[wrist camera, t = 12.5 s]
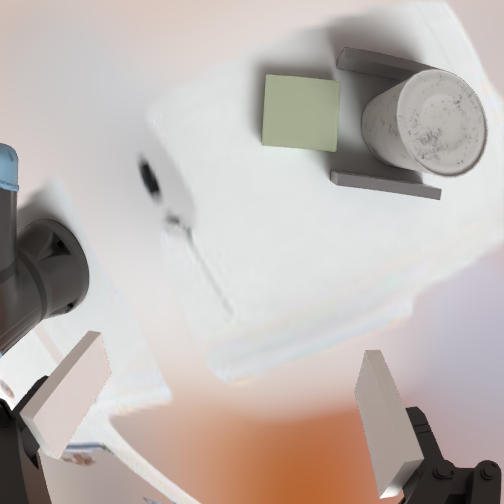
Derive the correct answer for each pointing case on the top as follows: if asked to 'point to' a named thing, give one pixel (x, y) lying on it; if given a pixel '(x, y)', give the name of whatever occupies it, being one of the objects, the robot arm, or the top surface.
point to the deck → (301, 113)
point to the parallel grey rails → (394, 70)
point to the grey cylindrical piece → (427, 125)
